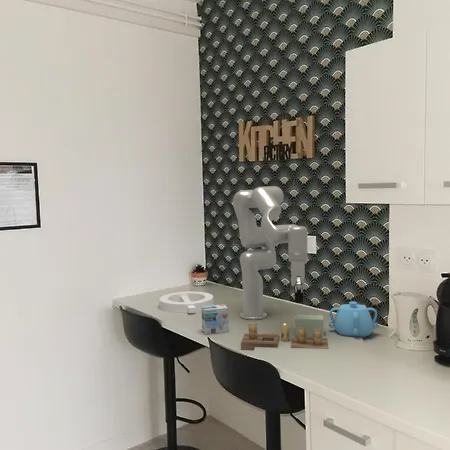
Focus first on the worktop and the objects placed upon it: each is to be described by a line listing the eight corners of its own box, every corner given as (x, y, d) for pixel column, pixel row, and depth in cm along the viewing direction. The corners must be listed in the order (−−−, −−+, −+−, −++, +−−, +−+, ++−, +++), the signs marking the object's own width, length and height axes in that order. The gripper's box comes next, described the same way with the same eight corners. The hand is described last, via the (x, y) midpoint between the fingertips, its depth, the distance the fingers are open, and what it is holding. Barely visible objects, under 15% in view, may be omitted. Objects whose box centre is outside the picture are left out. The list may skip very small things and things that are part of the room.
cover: (296, 333, 206) (295, 314, 205) (323, 333, 204) (323, 315, 203) (295, 338, 200) (295, 319, 199) (323, 339, 198) (323, 319, 197)
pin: (281, 341, 196) (280, 321, 195) (289, 341, 196) (289, 322, 195) (280, 344, 193) (280, 324, 192) (289, 344, 192) (288, 324, 192)
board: (291, 340, 197) (291, 324, 196) (327, 341, 195) (327, 324, 194) (290, 350, 185) (290, 333, 184) (328, 351, 183) (328, 334, 182)
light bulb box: (205, 334, 207) (204, 309, 206) (201, 330, 214) (200, 306, 213) (229, 332, 210) (228, 307, 209) (225, 327, 217) (224, 303, 216)
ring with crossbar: (193, 316, 238) (192, 306, 237) (148, 309, 253) (148, 300, 252) (223, 303, 262) (223, 294, 261) (181, 297, 276) (180, 289, 276)
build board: (244, 339, 200) (244, 320, 199) (279, 340, 198) (278, 320, 197) (241, 349, 188) (240, 329, 187) (277, 350, 186) (277, 329, 185)
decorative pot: (353, 343, 192) (353, 309, 190) (325, 333, 205) (324, 301, 204) (382, 336, 200) (382, 303, 198) (353, 326, 214) (353, 295, 212)
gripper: (288, 254, 204) (289, 294, 206) (288, 260, 187) (289, 304, 189) (306, 253, 203) (307, 294, 205) (308, 260, 186) (309, 304, 188)
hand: (298, 299), depth 197 cm, fingers open, 9 cm apart
